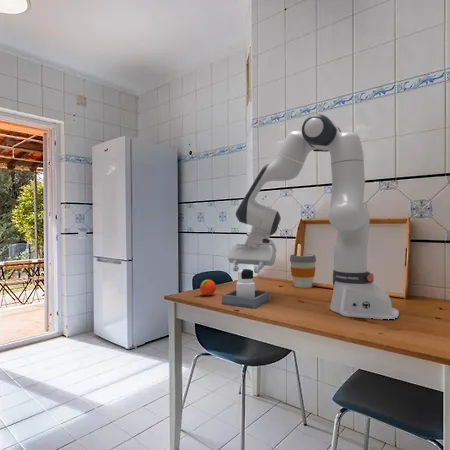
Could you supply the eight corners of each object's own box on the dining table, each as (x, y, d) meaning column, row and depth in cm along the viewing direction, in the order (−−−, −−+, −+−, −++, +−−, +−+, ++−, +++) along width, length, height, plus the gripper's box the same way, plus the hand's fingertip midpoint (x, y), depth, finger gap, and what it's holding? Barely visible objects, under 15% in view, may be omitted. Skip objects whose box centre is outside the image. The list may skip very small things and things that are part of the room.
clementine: (209, 298, 137) (208, 281, 137) (195, 296, 140) (195, 280, 140) (218, 294, 144) (218, 278, 144) (205, 293, 147) (205, 277, 147)
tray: (269, 300, 133) (269, 291, 132) (254, 308, 121) (254, 299, 120) (239, 296, 140) (239, 288, 140) (222, 303, 128) (222, 295, 128)
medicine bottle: (254, 297, 133) (254, 268, 133) (254, 302, 126) (254, 271, 126) (237, 297, 134) (237, 268, 134) (236, 301, 127) (236, 271, 127)
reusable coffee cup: (320, 285, 161) (320, 255, 161) (308, 289, 152) (307, 257, 152) (298, 282, 170) (298, 253, 170) (285, 286, 161) (284, 255, 161)
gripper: (231, 239, 141) (220, 264, 133) (276, 240, 131) (266, 268, 122) (236, 248, 145) (225, 274, 137) (280, 250, 134) (271, 278, 126)
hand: (245, 271), depth 129 cm, fingers open, 8 cm apart
